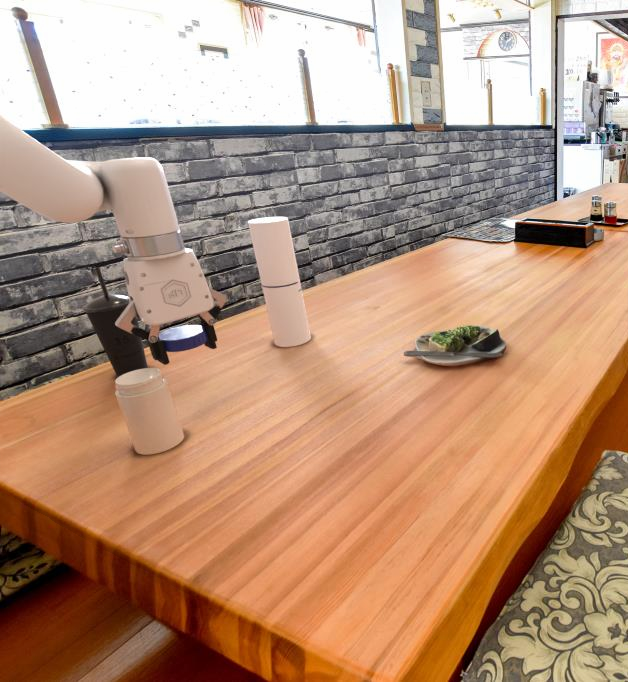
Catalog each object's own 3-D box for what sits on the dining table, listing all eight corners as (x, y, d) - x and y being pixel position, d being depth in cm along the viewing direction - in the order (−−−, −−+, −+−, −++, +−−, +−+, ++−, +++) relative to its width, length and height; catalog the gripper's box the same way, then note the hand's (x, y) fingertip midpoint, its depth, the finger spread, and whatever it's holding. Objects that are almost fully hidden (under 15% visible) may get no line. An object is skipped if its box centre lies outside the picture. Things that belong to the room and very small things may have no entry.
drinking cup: (100, 375, 97) (61, 270, 90) (145, 360, 103) (113, 260, 96) (118, 385, 93) (79, 275, 86) (164, 369, 99) (131, 265, 92)
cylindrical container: (266, 344, 109) (239, 222, 100) (291, 332, 115) (267, 216, 106) (294, 348, 107) (268, 223, 97) (318, 336, 113) (296, 217, 103)
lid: (205, 348, 83) (202, 336, 83) (156, 355, 81) (152, 343, 80) (210, 333, 89) (207, 322, 88) (164, 339, 87) (161, 328, 86)
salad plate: (411, 380, 91) (408, 356, 90) (397, 343, 107) (394, 322, 105) (516, 362, 97) (516, 339, 95) (489, 330, 113) (487, 309, 111)
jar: (130, 458, 72) (105, 389, 68) (141, 436, 77) (118, 371, 73) (180, 448, 74) (158, 380, 70) (187, 427, 79) (167, 363, 75)
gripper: (94, 260, 71) (136, 380, 78) (225, 237, 83) (251, 342, 90) (77, 254, 75) (118, 368, 82) (204, 232, 87) (230, 333, 94)
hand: (187, 353), depth 86 cm, fingers closed on lid, 6 cm apart
